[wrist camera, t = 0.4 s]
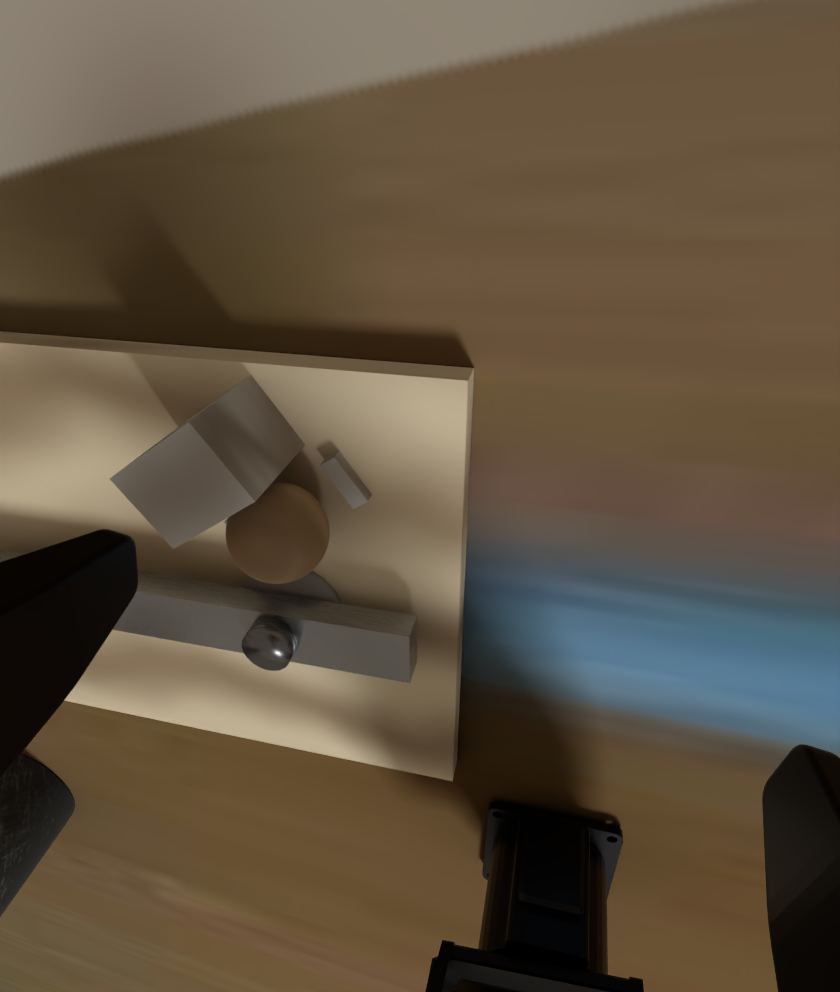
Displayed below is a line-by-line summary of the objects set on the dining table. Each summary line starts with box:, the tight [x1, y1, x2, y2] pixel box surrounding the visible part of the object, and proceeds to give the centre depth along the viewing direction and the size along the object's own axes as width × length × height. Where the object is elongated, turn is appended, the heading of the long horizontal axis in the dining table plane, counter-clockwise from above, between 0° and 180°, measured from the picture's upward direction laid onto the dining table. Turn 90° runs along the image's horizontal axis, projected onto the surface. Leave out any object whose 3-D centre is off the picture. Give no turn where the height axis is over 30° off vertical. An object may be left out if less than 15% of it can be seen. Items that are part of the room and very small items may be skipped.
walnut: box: [226, 482, 330, 584], centre depth 23 cm, size 4×4×4 cm
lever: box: [0, 550, 417, 683], centre depth 24 cm, size 21×3×7 cm, turn 90°
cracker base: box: [0, 331, 474, 781], centre depth 26 cm, size 20×22×5 cm
